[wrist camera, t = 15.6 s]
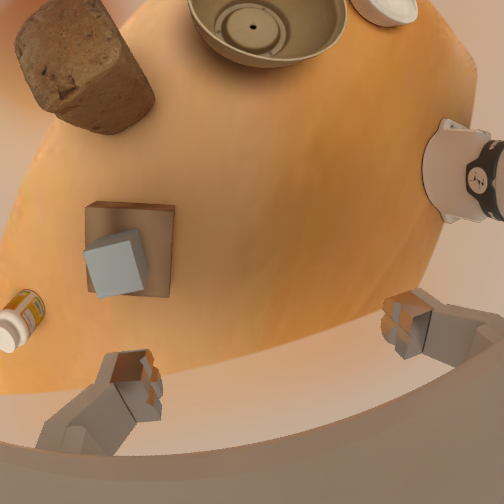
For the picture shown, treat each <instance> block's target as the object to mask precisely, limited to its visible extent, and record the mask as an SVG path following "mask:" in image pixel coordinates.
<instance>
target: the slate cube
mask: <svg viewBox="0 0 504 504" xmlns="http://www.w3.org/2000/svg"><path fill="white" fill-rule="evenodd" d="M83 255H84V258H85V261H86V264H87V267H88V270H89V273H90V276H91V279H92V282H93V285H94V288H95V291H96V294H97V296H98V299H101V298H106V297H111V296H116V295H120V294H125V293H130V292H135V291H139V290H144V287H145V284H146V280H147V277H148V273H149V269H148V265H147V262H146V258H145V254H144V251H143V247H142V243H141V239H140V235H139V231H138V228H137V229H133V230H128V231H124V232H120V233H116V234H112V235H108V236H104V237H100V238H97V239H95V240H94V241H93V242H92V243H91V244H90V245H89V246H88V247H87V248H86V249H85V250H84V251H83Z"/></svg>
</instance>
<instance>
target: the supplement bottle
mask: <svg viewBox="0 0 504 504" xmlns="http://www.w3.org/2000/svg"><path fill="white" fill-rule="evenodd" d="M44 314H45V308H44V304H43V302H42V300H41V299H40V297H39V296H38V295H37V294H36V293H34V292H32V291H30V290H23V291H21V292H19V293H18V294H17V295H16V296H15V297H14V298H13V299H12V300H11V301H10V302H9V303H8V304H7V305H6V306H5V307H4V309H3V310H2V311H1V312H0V349H1V350H2V351H4V352H6V353H12V352H13V351H14V350H15V349H16V348H17V347H19V346H22V345H24V344H25V343H26V342H27V341H28V339H29V337H30V336H31V335H32V333H33V332H34V330H35V329H36V327H37V326H38V325H39V323H40V322H41V320H42V319H43V317H44Z"/></svg>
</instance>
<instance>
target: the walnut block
mask: <svg viewBox="0 0 504 504" xmlns="http://www.w3.org/2000/svg"><path fill="white" fill-rule="evenodd" d="M174 212H175V205H161V204H144V203H126V202H105V201H96V202H94V203H92V204H90V205H88V206H87V207H85V249H86V248H87V247H88V246H89V245H90V244H91V243H92V242H93V241H94V240H95V239H97V238H100V237H104V236H108V235H112V234H116V233H120V232H124V231H128V230H133V229H137V228H138V231H139V235H140V239H141V243H142V247H143V251H144V254H145V258H146V262H147V265H148V269H149V273H148V277H147V280H146V284H145V287H144V290H139V291H135V292H130V293H125V294H120V295H131V296H145V297H161V298H169V294H170V283H171V259H172V240H173V225H174ZM86 270H87V285H88V292H94V293H96V291H95V288H94V285H93V282H92V279H91V276H90V273H89V270H88V267H87V264H86Z"/></svg>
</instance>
